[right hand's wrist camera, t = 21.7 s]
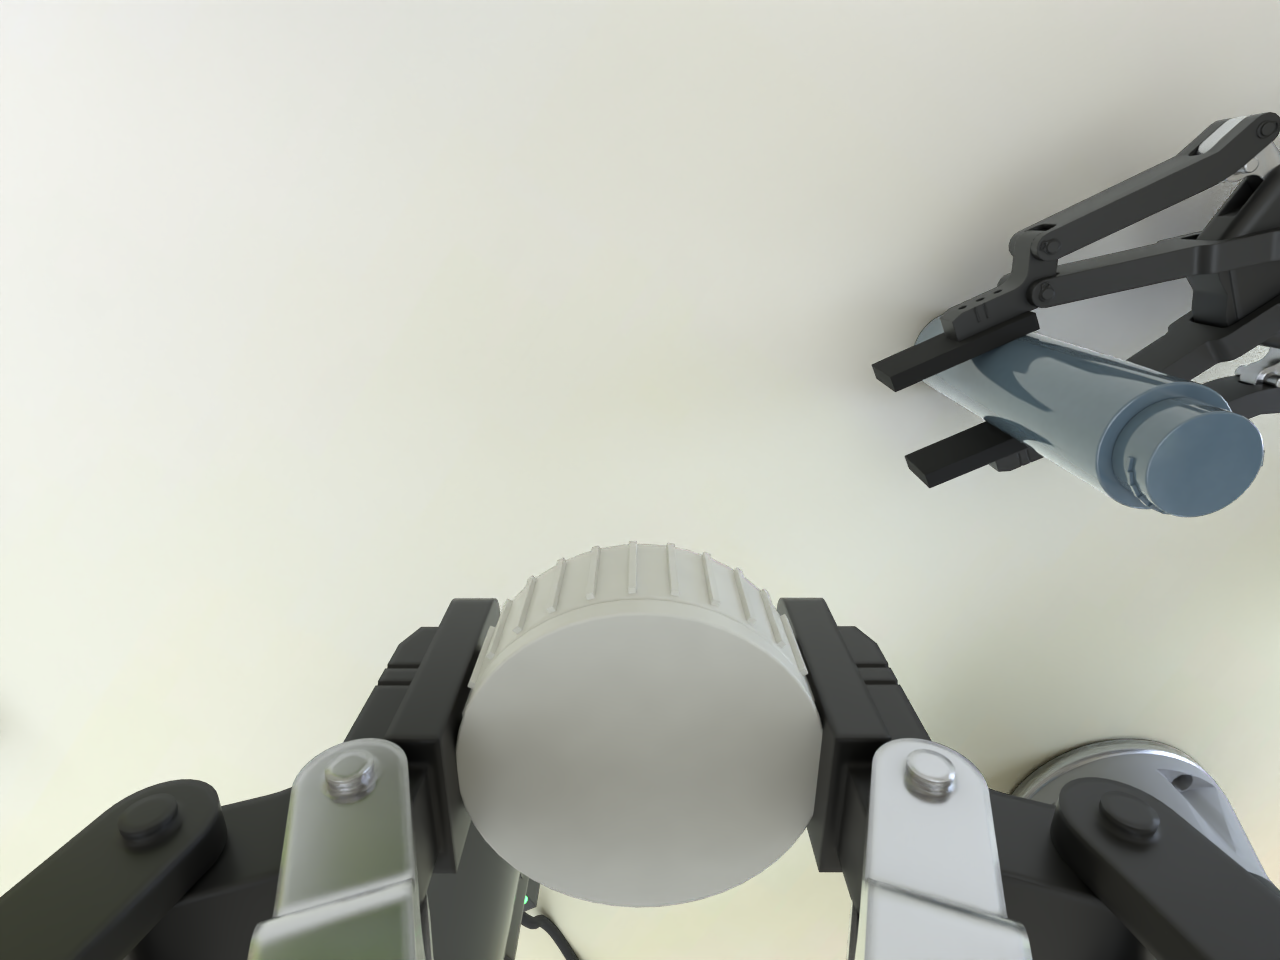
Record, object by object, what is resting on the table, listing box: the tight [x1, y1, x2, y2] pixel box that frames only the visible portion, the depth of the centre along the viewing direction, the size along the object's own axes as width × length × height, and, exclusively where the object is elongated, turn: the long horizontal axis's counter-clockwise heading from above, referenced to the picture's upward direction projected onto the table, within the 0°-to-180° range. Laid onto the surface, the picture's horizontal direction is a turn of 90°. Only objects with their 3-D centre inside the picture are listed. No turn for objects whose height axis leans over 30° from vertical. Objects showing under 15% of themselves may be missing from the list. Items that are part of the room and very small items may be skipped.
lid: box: [456, 541, 823, 907], centre depth 10 cm, size 5×5×2 cm
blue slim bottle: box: [915, 315, 1264, 517], centre depth 30 cm, size 4×4×18 cm
